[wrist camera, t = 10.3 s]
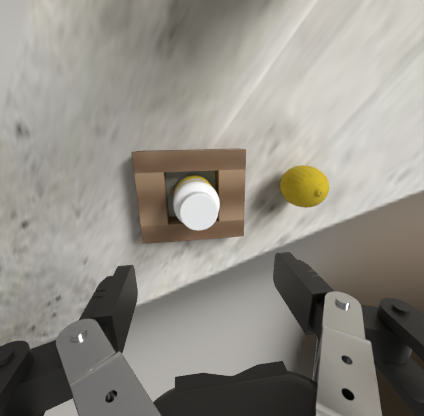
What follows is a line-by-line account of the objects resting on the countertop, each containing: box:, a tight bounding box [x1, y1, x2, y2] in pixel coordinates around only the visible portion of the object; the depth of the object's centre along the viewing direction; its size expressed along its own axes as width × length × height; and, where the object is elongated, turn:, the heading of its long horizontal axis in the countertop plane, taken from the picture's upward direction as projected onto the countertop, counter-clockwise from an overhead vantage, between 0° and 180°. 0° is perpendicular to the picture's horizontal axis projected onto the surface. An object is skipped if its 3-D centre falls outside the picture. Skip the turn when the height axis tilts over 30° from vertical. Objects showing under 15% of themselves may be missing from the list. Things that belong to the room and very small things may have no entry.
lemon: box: [280, 166, 329, 207], centre depth 29 cm, size 6×6×8 cm
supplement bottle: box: [173, 174, 220, 231], centre depth 27 cm, size 5×5×10 cm
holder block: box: [132, 149, 246, 244], centre depth 30 cm, size 12×14×4 cm
